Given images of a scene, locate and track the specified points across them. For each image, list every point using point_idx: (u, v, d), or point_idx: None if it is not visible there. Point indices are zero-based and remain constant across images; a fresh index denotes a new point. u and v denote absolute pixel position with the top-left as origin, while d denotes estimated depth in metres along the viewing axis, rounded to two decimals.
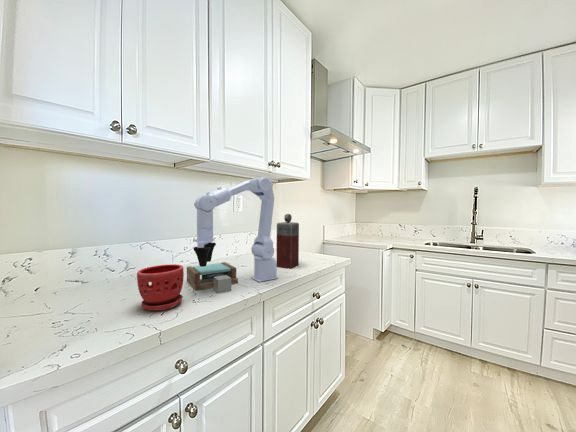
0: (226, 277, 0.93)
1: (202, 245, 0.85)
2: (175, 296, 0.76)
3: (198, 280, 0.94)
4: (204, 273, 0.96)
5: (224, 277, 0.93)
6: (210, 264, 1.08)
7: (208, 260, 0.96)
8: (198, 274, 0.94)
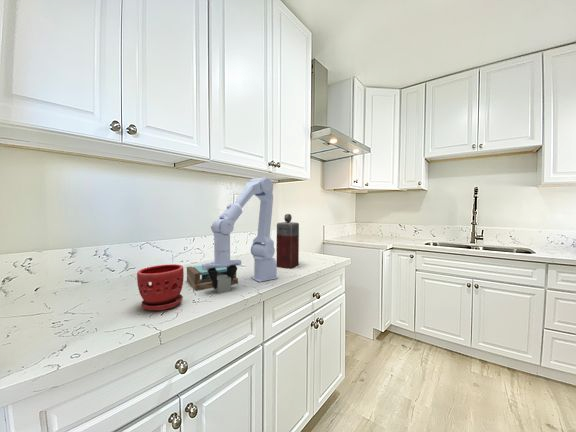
0: (226, 276, 0.93)
1: (203, 268, 0.88)
2: (175, 296, 0.76)
3: (198, 280, 0.94)
4: (204, 273, 0.96)
5: (224, 276, 0.93)
6: None
7: None
8: (198, 274, 0.94)
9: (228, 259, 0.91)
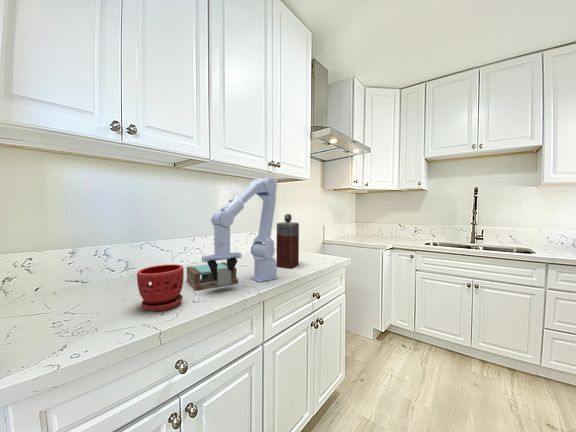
0: (226, 269, 0.93)
1: (203, 260, 0.88)
2: (175, 296, 0.76)
3: (198, 280, 0.94)
4: (204, 273, 0.96)
5: (224, 269, 0.93)
6: None
7: None
8: (198, 274, 0.94)
9: (228, 251, 0.91)
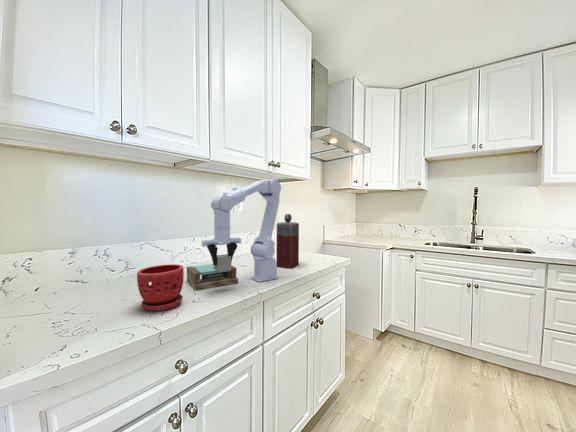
0: (226, 255, 0.93)
1: (203, 244, 0.87)
2: (175, 296, 0.76)
3: (198, 280, 0.94)
4: (204, 273, 0.96)
5: (224, 255, 0.93)
6: (210, 264, 1.08)
7: None
8: (198, 274, 0.94)
9: (228, 236, 0.91)
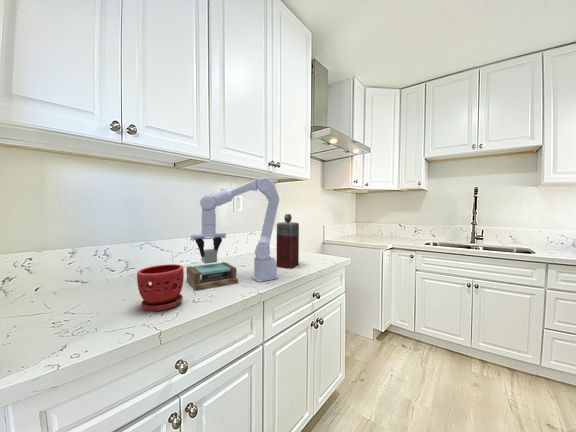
0: (213, 250, 1.06)
1: (191, 238, 1.01)
2: (175, 296, 0.76)
3: (198, 280, 0.94)
4: (204, 273, 0.96)
5: (211, 250, 1.06)
6: (210, 264, 1.08)
7: None
8: (198, 274, 0.94)
9: (214, 231, 1.04)
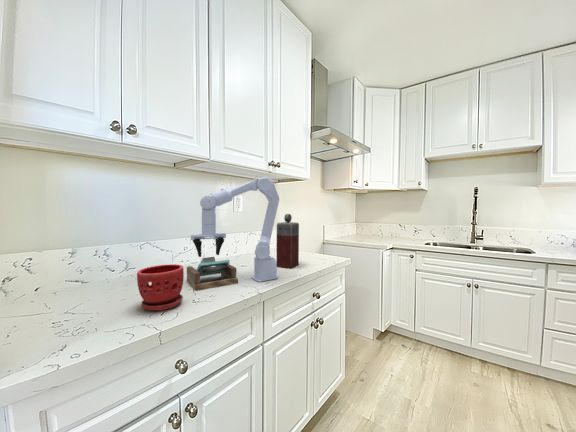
0: None
1: (191, 238, 1.01)
2: (175, 296, 0.76)
3: (198, 280, 0.94)
4: (203, 264, 0.96)
5: None
6: (211, 272, 1.08)
7: (217, 253, 1.08)
8: (198, 274, 0.94)
9: (214, 231, 1.04)
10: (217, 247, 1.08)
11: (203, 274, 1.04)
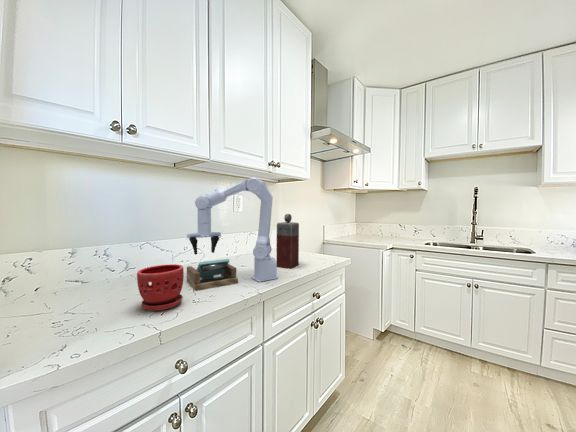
0: None
1: (188, 236, 1.06)
2: (175, 296, 0.76)
3: (198, 280, 0.94)
4: (203, 263, 0.97)
5: None
6: None
7: (212, 251, 1.13)
8: (198, 274, 0.94)
9: (209, 230, 1.10)
10: (212, 245, 1.13)
11: (203, 275, 1.04)
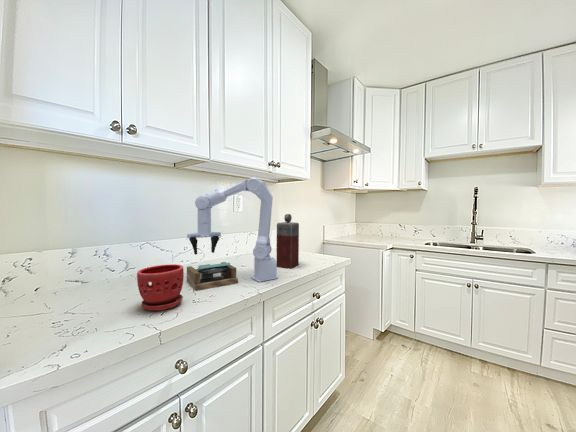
0: None
1: (188, 236, 1.06)
2: (175, 296, 0.76)
3: (198, 280, 0.94)
4: (204, 267, 0.96)
5: None
6: None
7: (212, 251, 1.13)
8: (198, 274, 0.94)
9: (209, 230, 1.10)
10: (212, 245, 1.13)
11: None
